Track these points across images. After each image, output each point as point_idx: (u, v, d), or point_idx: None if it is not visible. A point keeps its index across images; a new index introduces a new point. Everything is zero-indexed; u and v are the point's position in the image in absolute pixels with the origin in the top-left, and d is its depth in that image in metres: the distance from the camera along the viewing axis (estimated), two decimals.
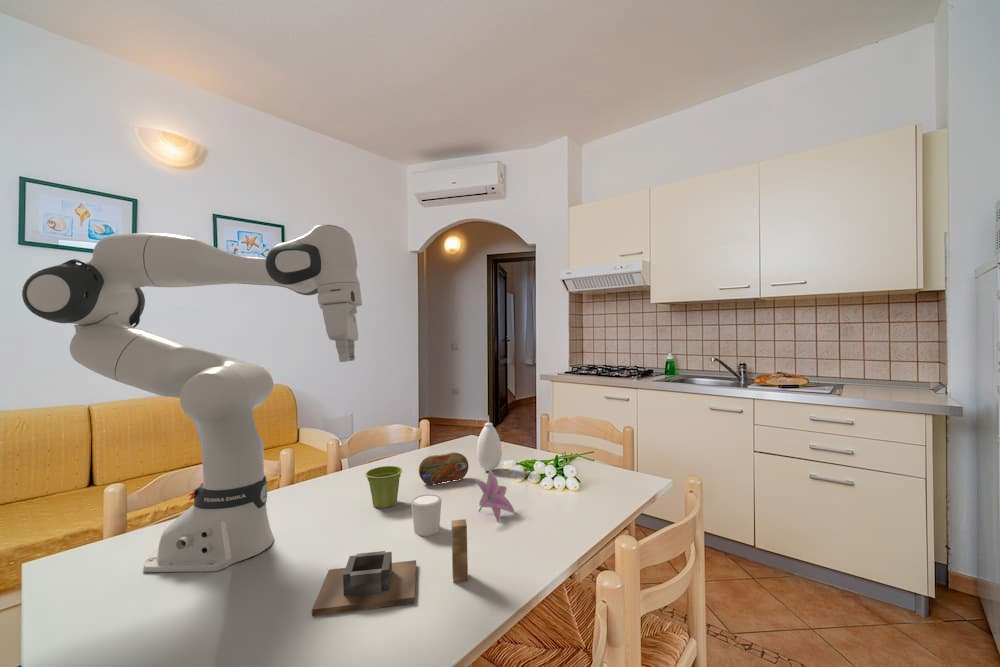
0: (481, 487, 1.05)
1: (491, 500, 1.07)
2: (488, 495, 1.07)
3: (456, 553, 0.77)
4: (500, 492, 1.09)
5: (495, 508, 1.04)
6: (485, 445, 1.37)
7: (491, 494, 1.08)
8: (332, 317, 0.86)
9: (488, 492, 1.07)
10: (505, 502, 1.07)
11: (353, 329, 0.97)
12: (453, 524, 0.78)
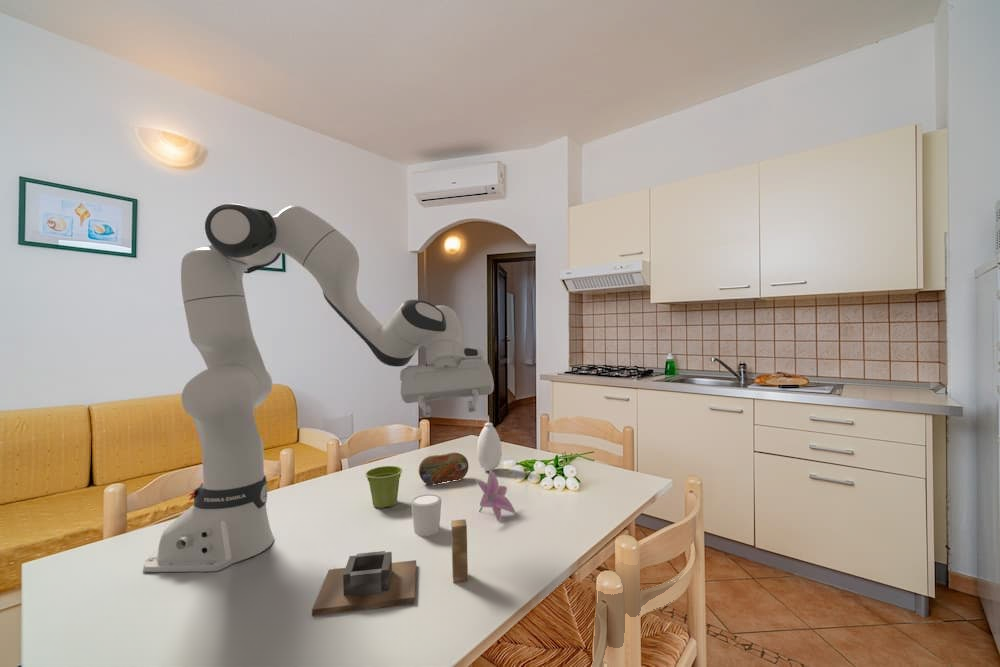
0: (482, 487, 1.05)
1: (491, 500, 1.07)
2: (488, 495, 1.07)
3: (456, 553, 0.77)
4: (500, 492, 1.09)
5: (496, 508, 1.04)
6: (485, 445, 1.37)
7: (491, 494, 1.08)
8: None
9: (488, 492, 1.07)
10: (506, 502, 1.07)
11: None
12: (453, 524, 0.78)
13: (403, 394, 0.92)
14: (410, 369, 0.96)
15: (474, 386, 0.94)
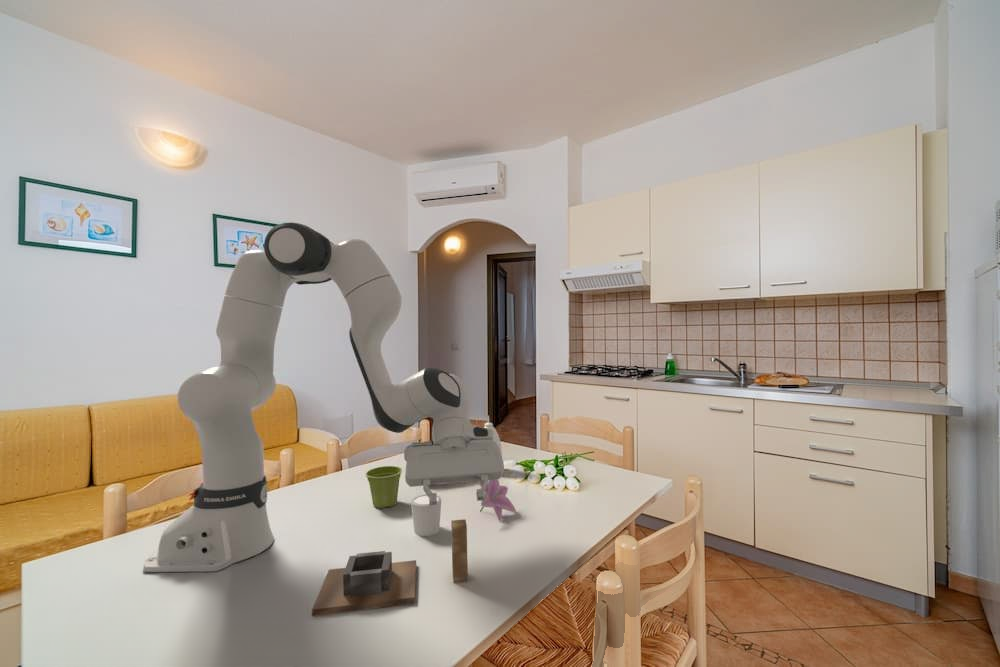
0: None
1: (492, 500, 1.07)
2: (489, 495, 1.07)
3: (456, 553, 0.77)
4: (501, 491, 1.09)
5: (497, 508, 1.04)
6: None
7: (492, 494, 1.08)
8: None
9: (489, 492, 1.07)
10: (507, 502, 1.07)
11: None
12: (453, 524, 0.78)
13: (408, 478, 0.86)
14: (415, 448, 0.91)
15: (484, 472, 0.88)
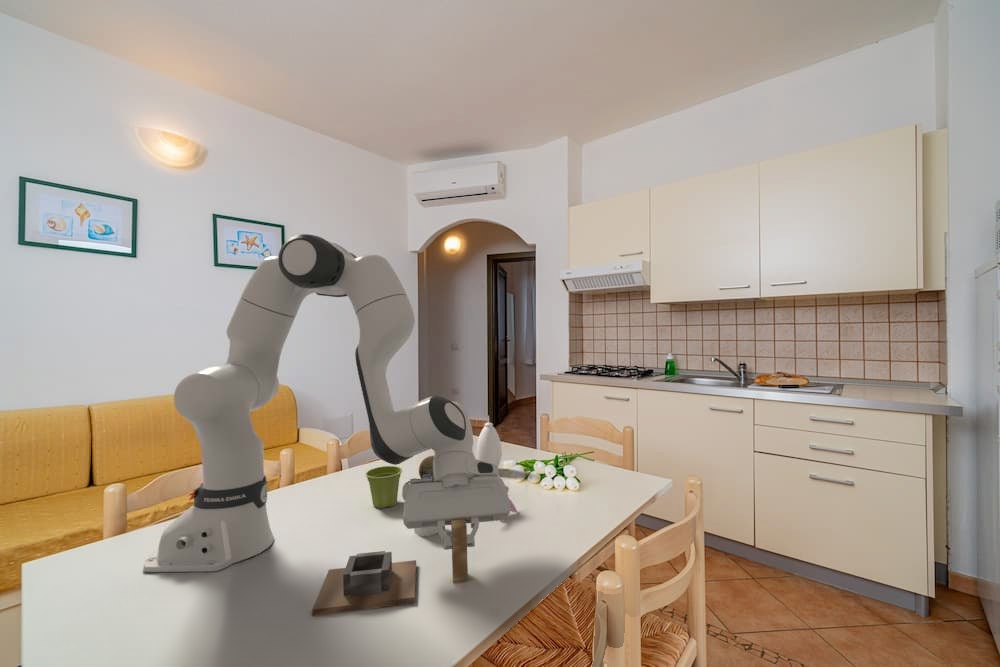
0: None
1: None
2: None
3: (456, 553, 0.77)
4: None
5: None
6: (485, 445, 1.37)
7: None
8: None
9: None
10: None
11: None
12: (453, 524, 0.78)
13: (406, 521, 0.79)
14: (415, 486, 0.84)
15: (488, 513, 0.81)
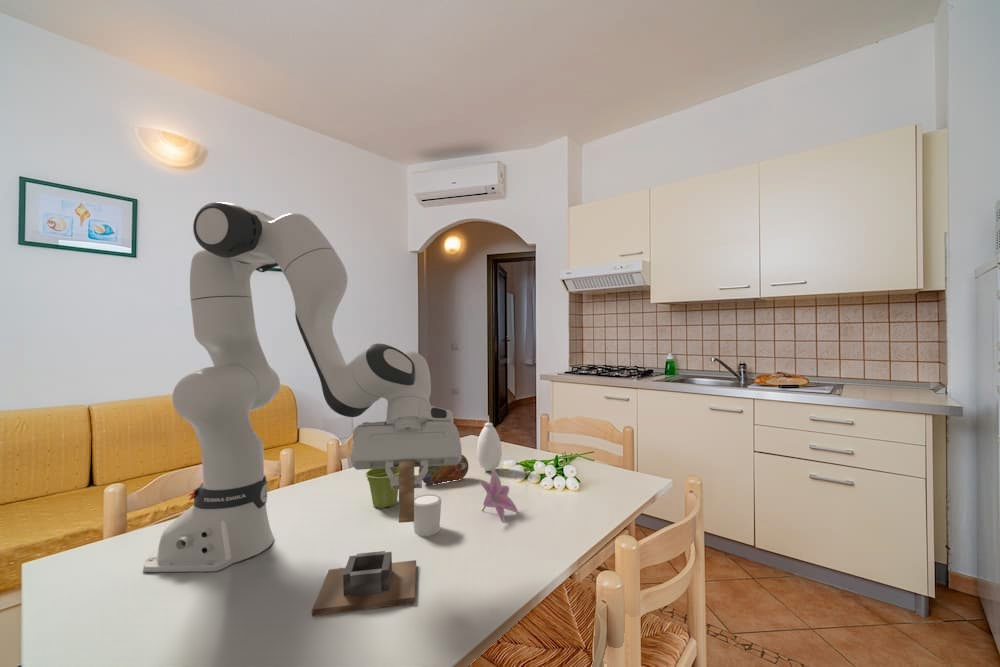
0: (485, 487, 1.05)
1: (494, 500, 1.07)
2: (491, 495, 1.07)
3: (402, 493, 0.76)
4: (503, 491, 1.09)
5: (499, 508, 1.04)
6: (485, 445, 1.37)
7: (494, 494, 1.08)
8: None
9: (491, 492, 1.07)
10: (509, 502, 1.07)
11: None
12: (400, 464, 0.77)
13: (353, 460, 0.78)
14: (365, 428, 0.82)
15: (438, 456, 0.80)
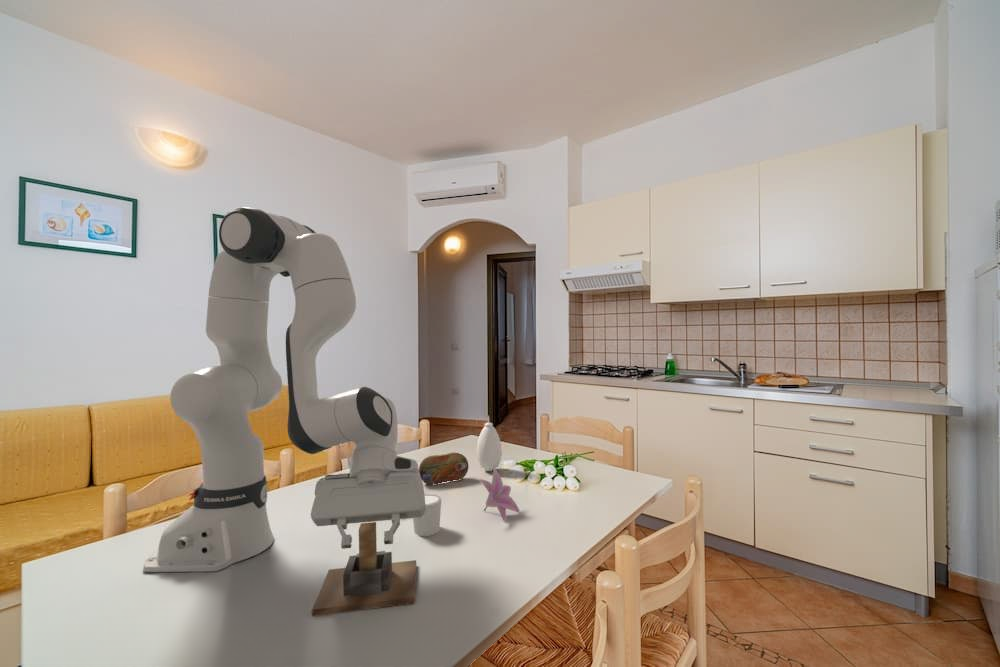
0: (486, 487, 1.05)
1: (496, 500, 1.07)
2: (493, 495, 1.07)
3: (363, 558, 0.75)
4: (504, 491, 1.09)
5: (501, 508, 1.05)
6: (485, 445, 1.37)
7: (496, 494, 1.08)
8: None
9: (493, 492, 1.07)
10: (510, 502, 1.07)
11: None
12: (360, 527, 0.76)
13: (313, 518, 0.76)
14: (327, 482, 0.81)
15: (401, 510, 0.79)
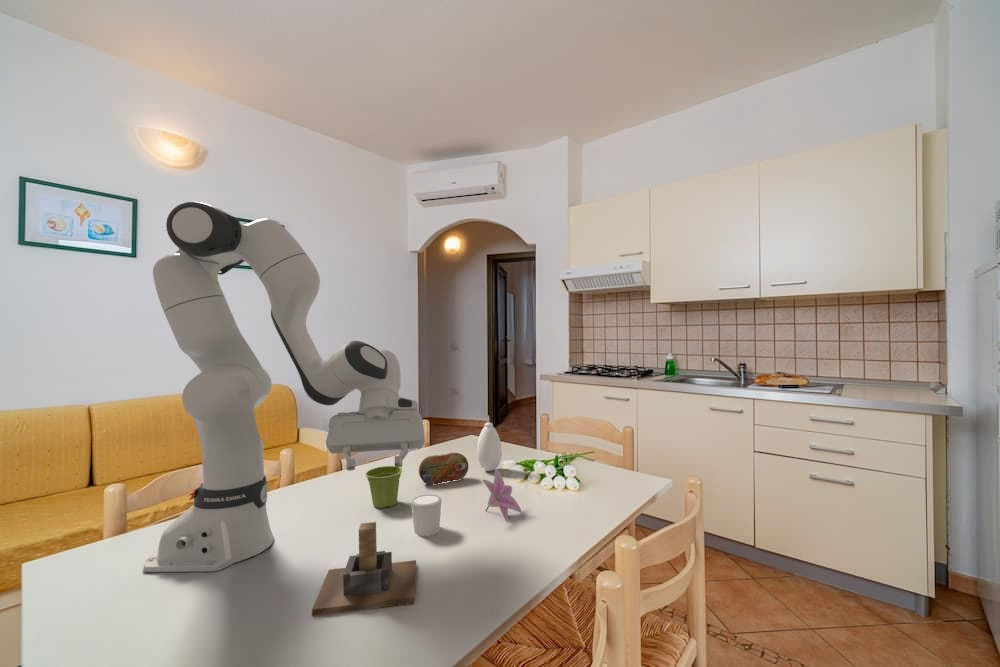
0: (488, 487, 1.05)
1: (498, 500, 1.07)
2: (495, 495, 1.07)
3: (363, 558, 0.75)
4: (506, 491, 1.09)
5: (502, 508, 1.05)
6: (485, 445, 1.37)
7: (498, 494, 1.08)
8: None
9: (495, 492, 1.07)
10: (512, 502, 1.08)
11: None
12: (360, 527, 0.76)
13: (328, 445, 0.89)
14: (340, 417, 0.94)
15: (403, 440, 0.91)
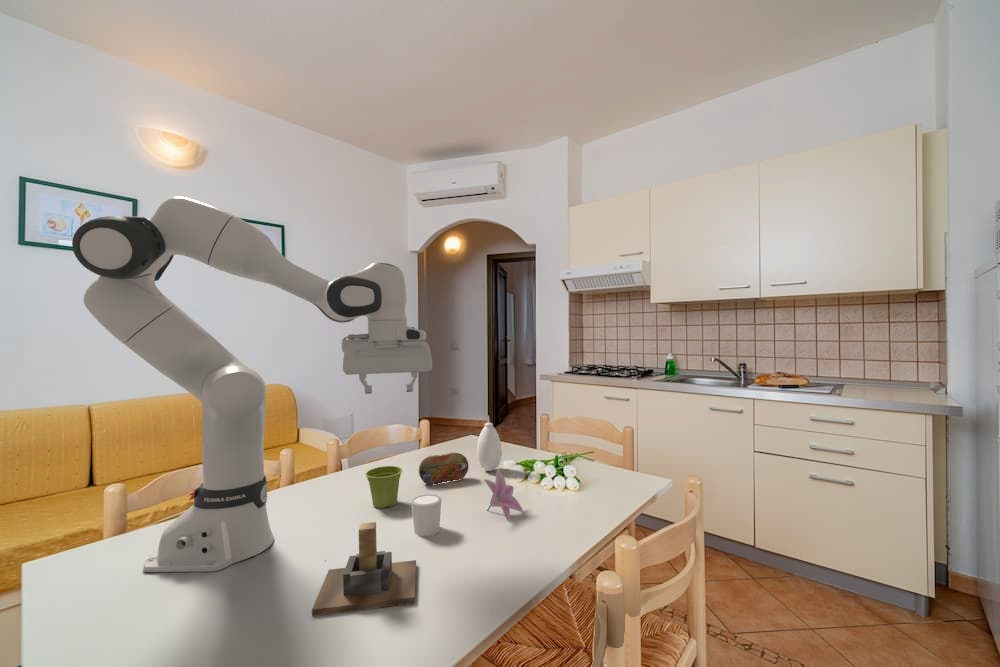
0: (490, 487, 1.05)
1: (500, 500, 1.07)
2: (496, 495, 1.07)
3: (363, 558, 0.75)
4: (507, 491, 1.09)
5: (504, 507, 1.05)
6: (485, 445, 1.37)
7: (499, 494, 1.08)
8: None
9: (497, 492, 1.07)
10: (514, 501, 1.08)
11: None
12: (360, 527, 0.76)
13: (345, 373, 0.98)
14: (351, 345, 0.98)
15: (413, 371, 1.01)
